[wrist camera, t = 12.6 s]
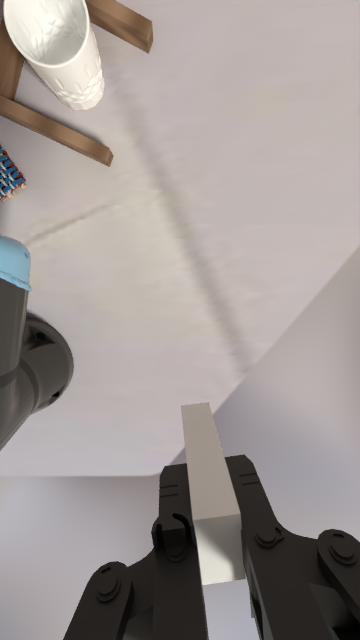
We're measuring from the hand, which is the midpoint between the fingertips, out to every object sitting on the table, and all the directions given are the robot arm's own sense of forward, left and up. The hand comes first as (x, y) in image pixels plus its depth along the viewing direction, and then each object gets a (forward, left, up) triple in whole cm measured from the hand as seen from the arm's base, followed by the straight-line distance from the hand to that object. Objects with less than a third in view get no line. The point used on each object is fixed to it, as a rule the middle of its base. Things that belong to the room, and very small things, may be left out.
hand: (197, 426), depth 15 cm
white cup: (-9, +32, -30) cm, 45 cm away
